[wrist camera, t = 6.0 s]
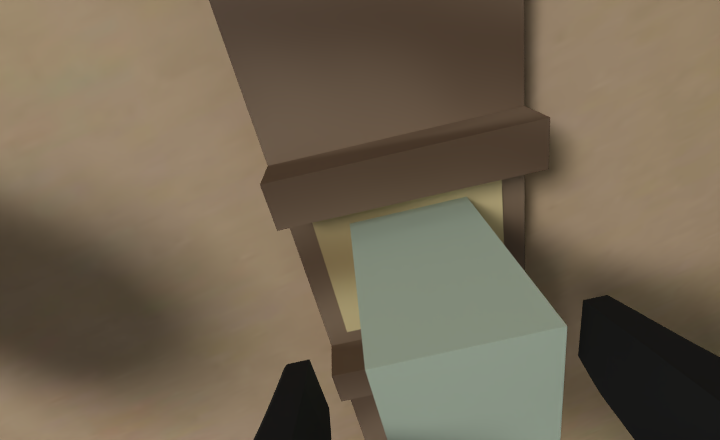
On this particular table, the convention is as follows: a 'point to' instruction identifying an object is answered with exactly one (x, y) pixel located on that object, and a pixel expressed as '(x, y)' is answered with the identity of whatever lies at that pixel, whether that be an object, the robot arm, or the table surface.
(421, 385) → the sage block
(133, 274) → the table surface
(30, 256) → the table surface
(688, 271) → the table surface
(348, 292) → the notch rail
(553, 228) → the table surface
